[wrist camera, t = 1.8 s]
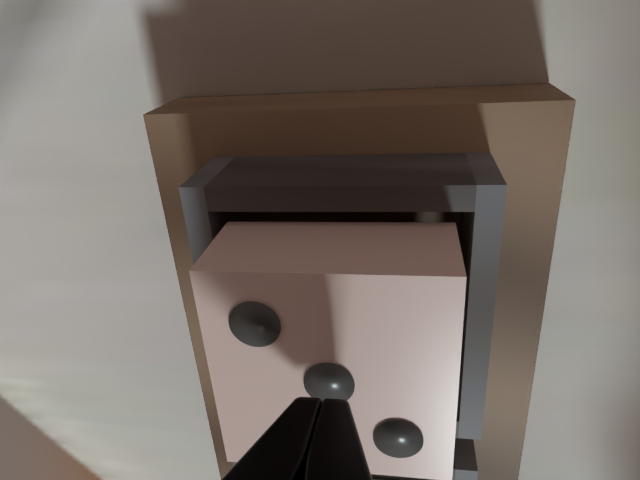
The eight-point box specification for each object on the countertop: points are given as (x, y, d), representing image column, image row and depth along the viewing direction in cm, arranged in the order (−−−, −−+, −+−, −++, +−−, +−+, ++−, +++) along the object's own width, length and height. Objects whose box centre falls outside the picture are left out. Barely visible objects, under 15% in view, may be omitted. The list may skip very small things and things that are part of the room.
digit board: (479, 629, 21) (493, 758, 17) (270, 601, 23) (244, 715, 19) (549, 83, 12) (613, 124, 8) (179, 97, 13) (93, 137, 9)
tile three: (445, 403, 11) (452, 483, 9) (254, 392, 12) (226, 463, 10) (455, 222, 9) (466, 279, 7) (227, 221, 10) (188, 272, 8)
